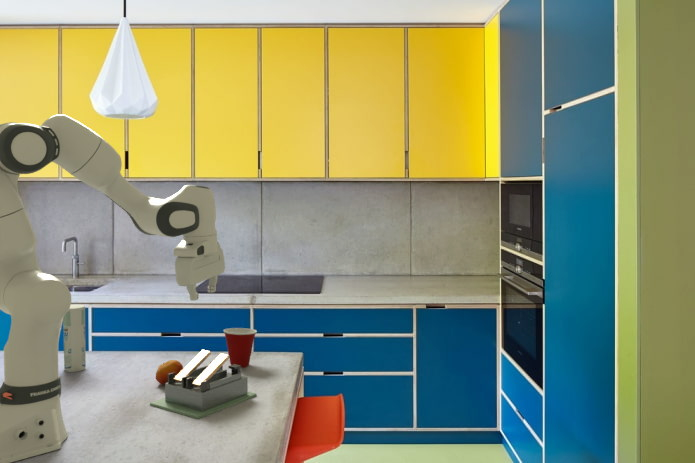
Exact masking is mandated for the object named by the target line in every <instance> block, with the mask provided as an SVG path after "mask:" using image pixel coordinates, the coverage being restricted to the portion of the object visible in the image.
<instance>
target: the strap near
mask: <svg viewBox="0 0 695 463" xmlns="http://www.w3.org/2000/svg"><path fill="white" fill-rule="evenodd" d="M228 360H230V358H229V354H226V353H219V355H218V356H217V357H216V358H215V359H214V360H212V361H213V362H212V361H211V362H212V363H211V364H208V365H207V366H208V367H207V368H206V369H205V370H204V371H203V372H202V373H201V374H200V375H199V376H198V377H197V379H196V380H195V381H194V382H193V383H192V385H193V386H195V387H199V388H201V382H203V381H206V380H209V379H210V378H211V377H212V376H213V375H214V374H215V373H216V372H217V371H218V369H219V368H220V367H221V366H222V365H224V364H225V363H227V361H228Z"/></svg>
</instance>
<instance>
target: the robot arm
mask: <svg viewBox="0 0 695 463" xmlns="http://www.w3.org/2000/svg"><path fill="white" fill-rule="evenodd" d="M51 163H54V164H55V165H58V166H60V167H61V168H62V169H63V170H65V172H68V174H70V175H71V176H73V177H74V178H75V179H77V180H78V181H80V182H81V183H84V184H85V185H86V186H89V187H91V188H93V189H95V190H96V191H99V192H100V193H102V194H103V195H104V196H106V197H107V198H108V199H109V200H111V201H112V202H113V203H114V204H116V205H117V206H118V207H119V208H121V209H122V210H123V211H125V213H126V214H127V215H128V216H129V218H130V219H131V221H132V223H133V224H134V226H135V228H136V229H137V230H138V232H140V233H142V234H143V235H148V236H159V237H166V238H175V237H179V236H182V237H183V238H182V240H181V241H180V243H179V244H177V245H176V246H175V247H174V248H173V255H174V257H176V259H175V262H174V267H175V268H174V270H175V280H176V283H177V285H178V286H179V287H186V290H187V292H188V294H189V300H190V301H193V302H194V301H197V300H199V292H197V289H196V288H197V284H199V283H201V282H204V281H206V280H208V285H207V293H211V294H212V293H215V292H216V290H217V289H216V288H217V287H216V285H217V283H218V279H219V278H218V277H219V276H218V275H221V274H223V273H225V270H226V264H225V256H224V255H225V254H224V250H223V249H222V247H221V244H220V243H219V241H218V232H217V228H216V220H217V212H216V201H215V195H214V193H213V190H212V189H211V188H209V187H207V186H204V185H195V184H186V185H183V186H182V188H180V190H179V191H178V192H176V193H174V194H173V195H171V196H169V197H166V198H157V197H154V196H148V195H146V194H144V193H142V191H140V190H139V189H138V188H137V187H135V186H134V185H133V184H131V182H129V181H128V180H127V179H126V178H125V177H124V176H123V175H122V174H121V171H122V167H123V166H122V157H121V155H120V154H119V153H118V151H117V150H116V149H115V148H114V147H113V146H112V145H111V144H110V143H109V142H107V140H105V139H104V138H103V137H101V136H100V135H99V134H98V133H96V131H93V130H92V129H91V128H89V127H87V126H86V125H84V124H83V123H81V122H80V121H78V120H76V119H74V118H72V117H70V116H68V115H66V114H60V113H59V114H55V115H52V116H50V117H48V118H47V119H46V120H44V122H43V123H42V124H41V125H38V124H34V123H33V124H32V123H28V122H27V123H26V122H15V121H14V122H13V121H11V122H5V123H1V124H0V311H1V312H3V313H5V314H7V315H10V318H11V321H10V322H11V323H10V324H11V325H10V329H9V334H8V338H7V341H6V343H5V345H4V347H3V372H4V373H3V376H4V381H3V382H2V385H1V386H0V463H14V462H18V461H20V460H24V459H28V458H32V457H35V456H39V455H42V454H43V455H44V454H46V453H49V452H53V451H57V450H60V449H61V448H62V444H63V442H64V441H66V439H67V438H68V437H69V436H68V435H69V434H68V431H67V429H66V426H65V423H64V417H63V413H62V406H61V394H62V381H61V380H62V378H61V375H60V374H59V343H60V342H59V341H60V337H61V336H60V335H61V331H62V327H63V318H64V316H65V314H66V313H67V312H68V310H69V308H70V305H72V294H71V291H70V289H69V288H68V286H67V285H66V284H65V283H64V282H63V281H62V280H60V278H58V277H56V276H54V275H52V274H49V273H44V272H43V271H42V270H41V268H40V265H39V262H38V256H37V241H38V240H37V236H36V233H35V230H34V229H33V226H32V224H31V221H30V218H29V216H28V213H27V211H26V209H25V205H24V203H23V200H22V198H21V197H20V194H19V188H18V181H19V179H20V176H21V175H29V174H34V173H36V172H38V171H40V170H42V169H44V168H45V167H47V166H48V165H49V164H51Z"/></svg>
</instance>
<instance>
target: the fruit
mask: <svg viewBox="0 0 695 463" xmlns="http://www.w3.org/2000/svg"><path fill="white" fill-rule="evenodd" d="M183 369H184V366H183V364H182V363H181V362H180V361H179V360H176V359H175V360H174V359H170V360H167V361H166V362H163V363H161V364H160V365H159V366H158V367H157V369H156V373H155V379H156V381H157V383H159V384H160V385H161V386H164V387H165V383H168V374H170V373H173V372H174V373H175V375H178V374H179V373H180V372H181V371H182V370H183Z"/></svg>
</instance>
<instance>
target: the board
mask: <svg viewBox="0 0 695 463" xmlns="http://www.w3.org/2000/svg"><path fill="white" fill-rule="evenodd" d="M254 397H257V393H255V392H252V391H251V392H250V391H248V395H245V396H243V397H240V398H237V399H235V400H232V401H230V402H227V403H225V404H222V405H219V406H217V407H214V408H212V409H209V410H207V411H204V412H200V411H197V410H193V409H190V408H186V407H183V406H179V405H175V404H172V403H168V402H165V397H164V398H160V399H158V400H154V401H152V402H149V405H150V406H152V407H155V408H159V409H162V410H166V411H169V412H173V413H176V414H180V415H183V416H186V417H190V418H193V419H196V420H199V419H202V418H203V417H207V416H209V415H212V414H215V413H216V412H219V411H221V410H224V409H227V408H229V407H232V406H234V405H236V404H239V403H243V402H244V401H247V400H250V399H251V398H254Z"/></svg>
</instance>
